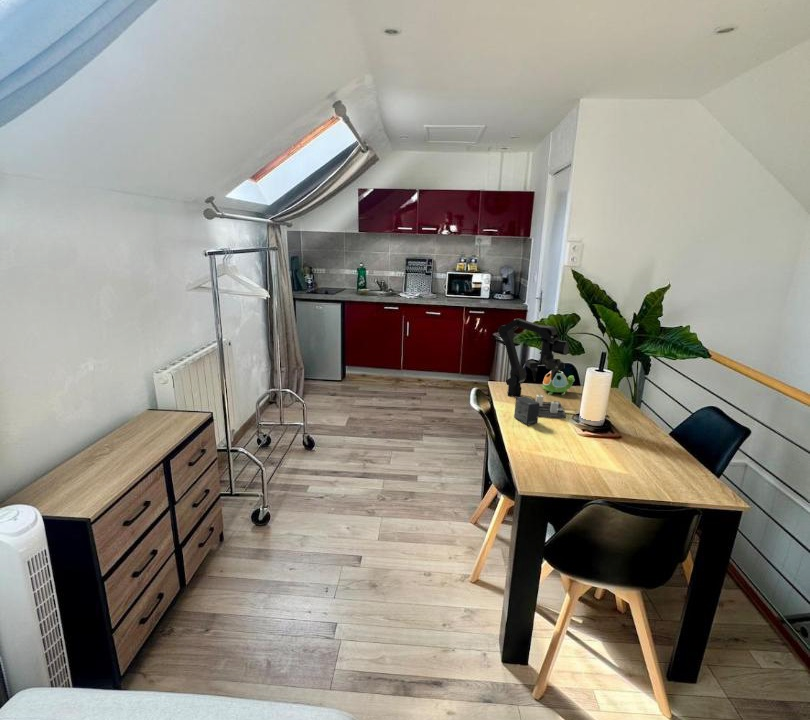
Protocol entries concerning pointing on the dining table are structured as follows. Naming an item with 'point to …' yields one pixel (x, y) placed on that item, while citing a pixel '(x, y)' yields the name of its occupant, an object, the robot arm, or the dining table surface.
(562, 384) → the turtle holder
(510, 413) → the dining table surface
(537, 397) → the fader
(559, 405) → the console
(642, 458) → the dining table surface
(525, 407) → the small box
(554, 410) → the fader
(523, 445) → the dining table surface
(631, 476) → the dining table surface
